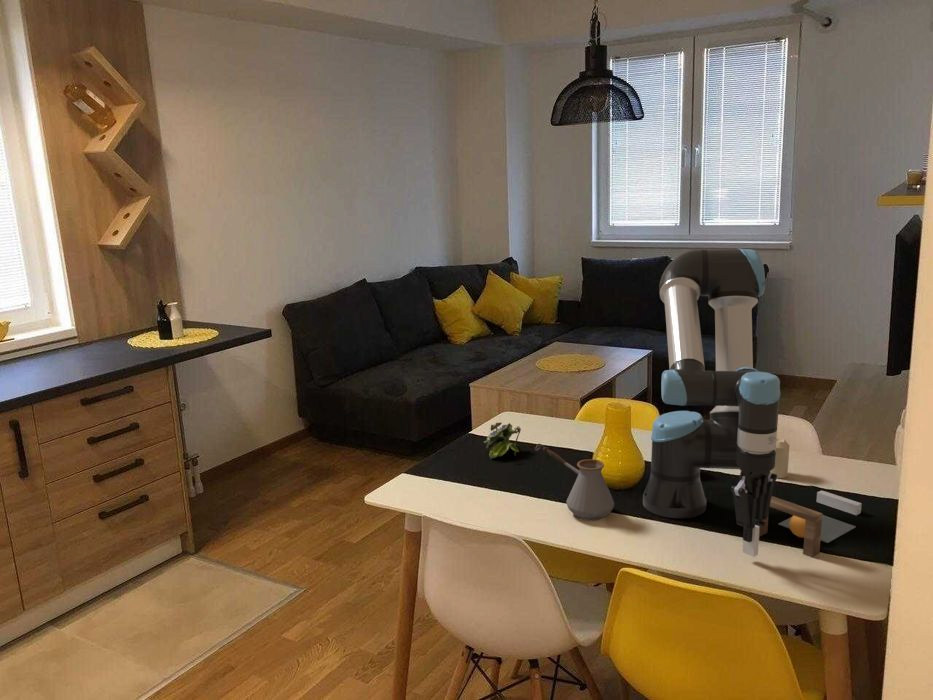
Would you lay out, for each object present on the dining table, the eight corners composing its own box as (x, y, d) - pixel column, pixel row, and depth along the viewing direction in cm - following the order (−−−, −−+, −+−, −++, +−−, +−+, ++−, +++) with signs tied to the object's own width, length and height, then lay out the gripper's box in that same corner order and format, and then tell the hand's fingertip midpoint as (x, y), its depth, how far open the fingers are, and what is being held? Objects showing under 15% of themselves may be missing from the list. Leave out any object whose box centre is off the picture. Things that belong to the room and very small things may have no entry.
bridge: (811, 557, 168) (814, 517, 166) (751, 533, 179) (753, 495, 177) (819, 553, 170) (822, 513, 167) (759, 529, 181) (761, 492, 179)
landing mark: (778, 524, 183) (778, 523, 183) (806, 510, 190) (806, 509, 190) (827, 543, 174) (827, 542, 174) (855, 527, 181) (855, 526, 181)
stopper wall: (816, 501, 194) (817, 492, 194) (820, 499, 195) (821, 490, 195) (856, 515, 186) (857, 505, 186) (860, 513, 188) (861, 503, 187)
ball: (784, 515, 176) (798, 505, 179) (784, 535, 178) (798, 525, 181) (806, 524, 172) (821, 514, 175) (806, 545, 174) (820, 535, 177)
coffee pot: (622, 511, 193) (623, 453, 189) (598, 528, 184) (599, 468, 180) (549, 490, 206) (549, 436, 202) (524, 505, 197) (523, 449, 194)
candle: (783, 470, 214) (786, 436, 212) (790, 478, 208) (792, 443, 206) (763, 470, 214) (765, 435, 212) (768, 478, 209) (770, 443, 207)
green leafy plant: (496, 467, 237) (503, 429, 241) (526, 468, 230) (533, 429, 234) (474, 456, 229) (482, 417, 233) (504, 456, 222) (512, 416, 226)
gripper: (753, 461, 154) (747, 570, 160) (791, 445, 162) (783, 550, 167) (721, 450, 160) (716, 556, 166) (758, 436, 168) (752, 537, 173)
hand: (750, 553), depth 166 cm, fingers closed
